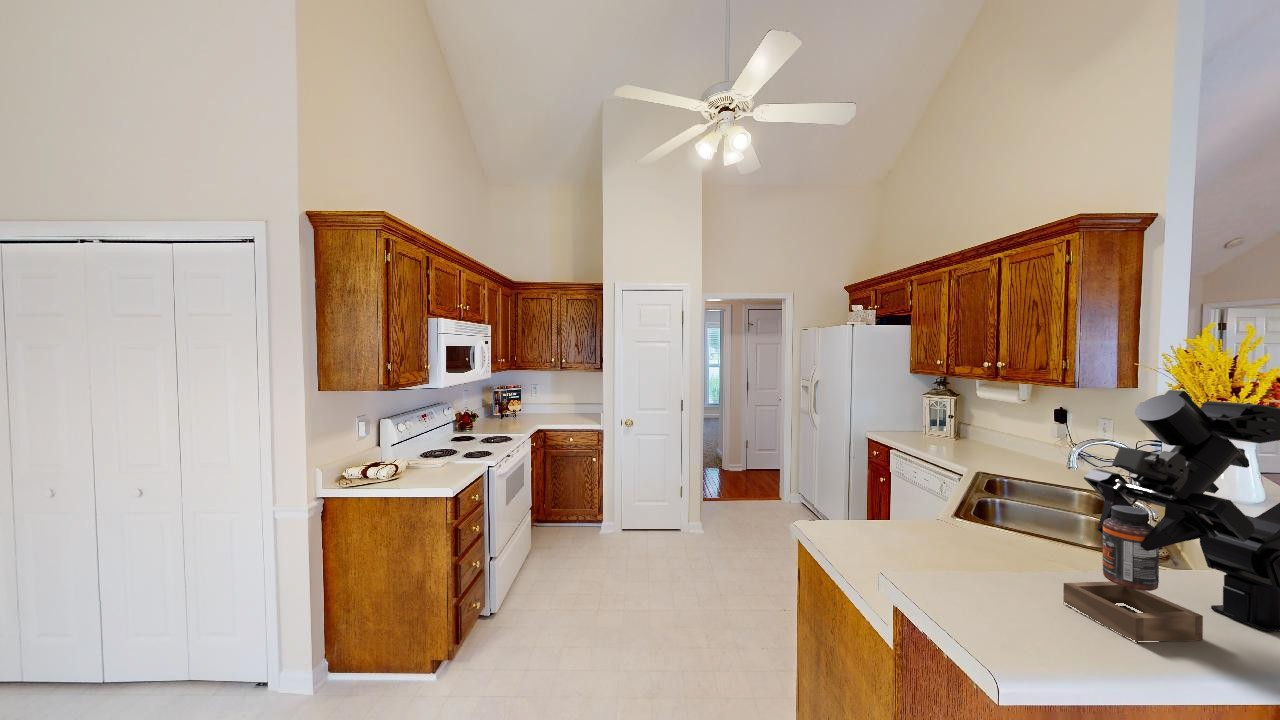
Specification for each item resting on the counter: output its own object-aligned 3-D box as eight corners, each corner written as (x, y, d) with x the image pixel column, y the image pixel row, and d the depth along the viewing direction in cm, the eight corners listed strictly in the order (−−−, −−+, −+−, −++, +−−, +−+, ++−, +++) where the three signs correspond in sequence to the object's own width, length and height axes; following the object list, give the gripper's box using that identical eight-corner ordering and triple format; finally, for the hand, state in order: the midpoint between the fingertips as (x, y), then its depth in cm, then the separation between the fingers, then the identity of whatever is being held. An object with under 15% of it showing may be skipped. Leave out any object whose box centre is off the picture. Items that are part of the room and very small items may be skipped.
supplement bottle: (1094, 571, 76) (1094, 501, 75) (1144, 577, 73) (1144, 505, 73) (1114, 588, 70) (1114, 512, 70) (1168, 595, 68) (1168, 517, 68)
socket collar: (1122, 602, 77) (1122, 581, 77) (1202, 640, 67) (1202, 615, 67) (1063, 604, 76) (1063, 583, 76) (1135, 643, 66) (1135, 618, 66)
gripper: (1094, 421, 81) (1031, 486, 81) (1233, 440, 62) (1152, 525, 62) (1138, 466, 81) (1076, 531, 81) (1291, 499, 62) (1211, 583, 62)
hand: (1121, 540), depth 72 cm, fingers closed on supplement bottle, 6 cm apart
